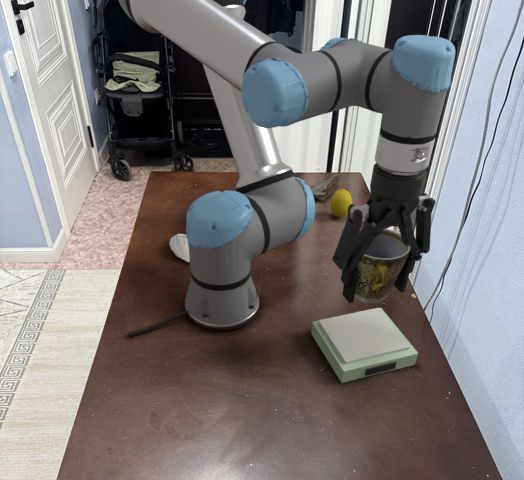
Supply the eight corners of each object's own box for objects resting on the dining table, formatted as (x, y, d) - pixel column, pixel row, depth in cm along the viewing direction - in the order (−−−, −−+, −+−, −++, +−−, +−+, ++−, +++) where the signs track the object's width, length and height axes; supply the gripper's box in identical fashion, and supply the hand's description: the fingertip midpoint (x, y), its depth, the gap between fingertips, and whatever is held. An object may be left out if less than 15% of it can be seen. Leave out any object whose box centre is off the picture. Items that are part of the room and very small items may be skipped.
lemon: (348, 223, 129) (353, 195, 124) (327, 221, 130) (331, 192, 125) (350, 213, 133) (354, 185, 128) (329, 211, 134) (333, 183, 129)
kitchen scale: (342, 384, 88) (345, 370, 85) (310, 333, 97) (312, 319, 95) (415, 366, 91) (420, 352, 89) (378, 318, 101) (381, 305, 99)
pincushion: (202, 262, 115) (200, 240, 111) (176, 266, 113) (173, 244, 110) (190, 236, 123) (188, 215, 119) (166, 240, 122) (163, 219, 118)
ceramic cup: (338, 274, 90) (345, 225, 84) (392, 276, 90) (404, 227, 84) (344, 320, 81) (354, 268, 74) (405, 322, 81) (420, 271, 74)
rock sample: (311, 171, 143) (328, 159, 136) (329, 188, 146) (347, 178, 138) (294, 197, 141) (311, 187, 133) (313, 215, 143) (331, 206, 136)
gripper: (342, 186, 65) (324, 318, 80) (481, 166, 70) (439, 294, 86) (319, 164, 70) (306, 292, 85) (450, 147, 75) (416, 270, 91)
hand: (373, 293), depth 85 cm, fingers closed on ceramic cup, 9 cm apart
